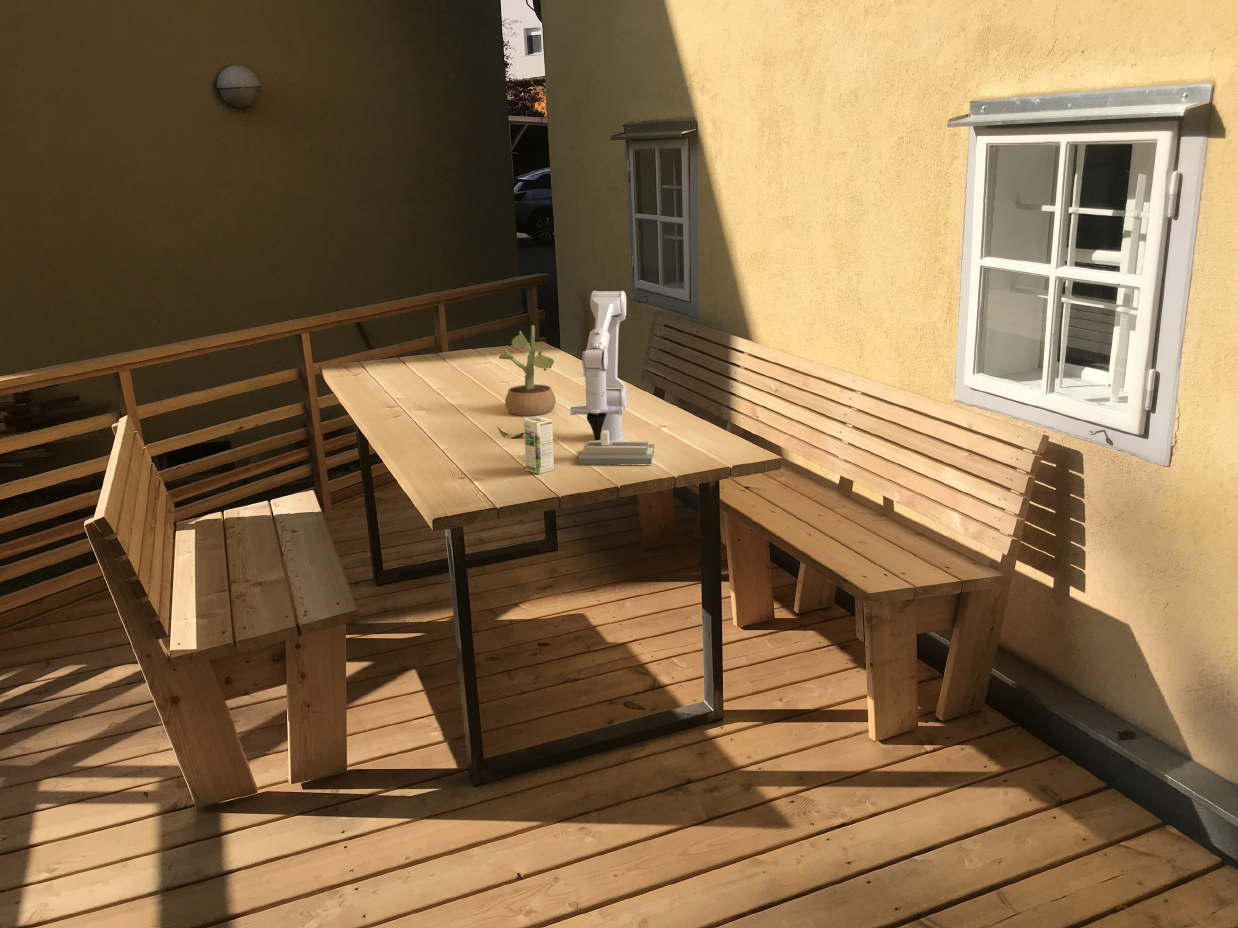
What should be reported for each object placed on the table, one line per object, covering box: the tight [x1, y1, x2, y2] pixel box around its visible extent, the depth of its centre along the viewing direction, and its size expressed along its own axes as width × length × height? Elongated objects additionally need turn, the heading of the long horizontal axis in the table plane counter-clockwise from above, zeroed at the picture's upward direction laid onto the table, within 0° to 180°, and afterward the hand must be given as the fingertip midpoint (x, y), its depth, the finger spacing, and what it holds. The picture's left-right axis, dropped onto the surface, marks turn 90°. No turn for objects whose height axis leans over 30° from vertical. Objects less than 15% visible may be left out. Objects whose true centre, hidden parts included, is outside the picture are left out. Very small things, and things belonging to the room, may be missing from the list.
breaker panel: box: [578, 440, 655, 466], centre depth 277 cm, size 14×20×4 cm
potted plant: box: [498, 325, 557, 417], centre depth 326 cm, size 22×18×30 cm
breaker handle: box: [598, 430, 613, 446], centre depth 277 cm, size 3×4×5 cm
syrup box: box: [523, 415, 555, 475], centre depth 267 cm, size 6×6×14 cm
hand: (597, 439), depth 277 cm, fingers closed
